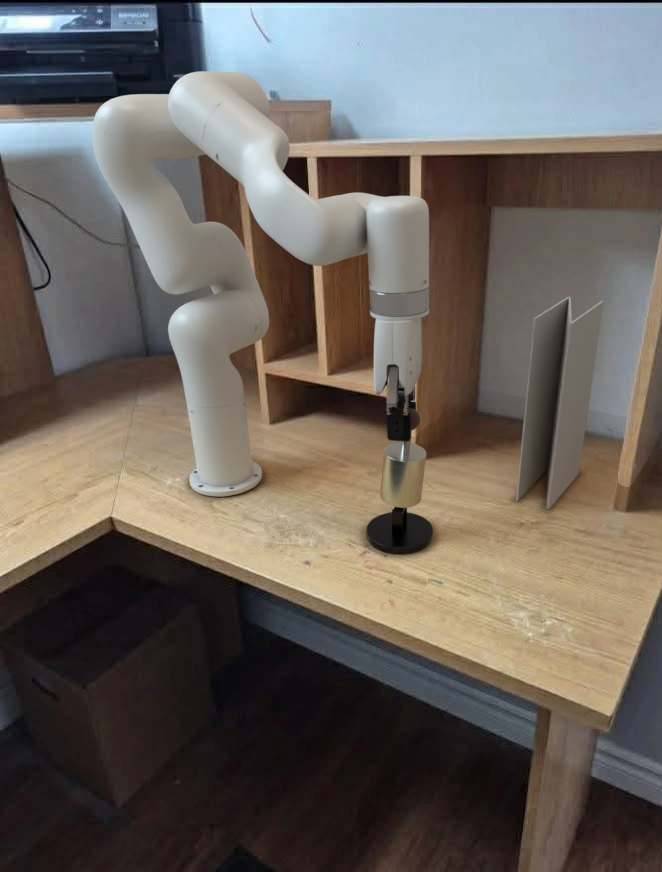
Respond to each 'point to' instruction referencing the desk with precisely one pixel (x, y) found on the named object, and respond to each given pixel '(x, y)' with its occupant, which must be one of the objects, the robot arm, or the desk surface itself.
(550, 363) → the brochure
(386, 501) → the knobbed metal cylinder
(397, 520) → the holder base
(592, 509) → the desk surface
